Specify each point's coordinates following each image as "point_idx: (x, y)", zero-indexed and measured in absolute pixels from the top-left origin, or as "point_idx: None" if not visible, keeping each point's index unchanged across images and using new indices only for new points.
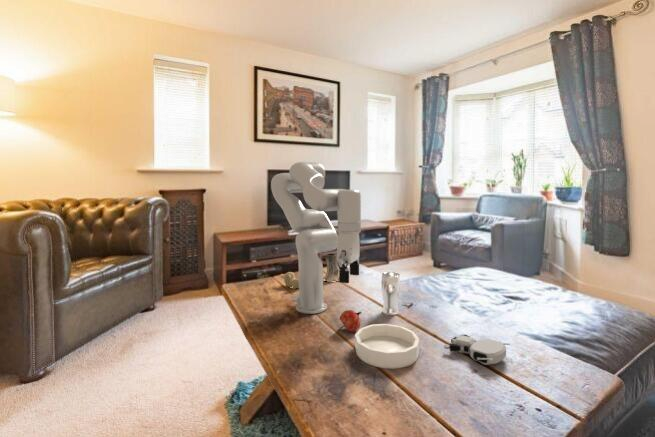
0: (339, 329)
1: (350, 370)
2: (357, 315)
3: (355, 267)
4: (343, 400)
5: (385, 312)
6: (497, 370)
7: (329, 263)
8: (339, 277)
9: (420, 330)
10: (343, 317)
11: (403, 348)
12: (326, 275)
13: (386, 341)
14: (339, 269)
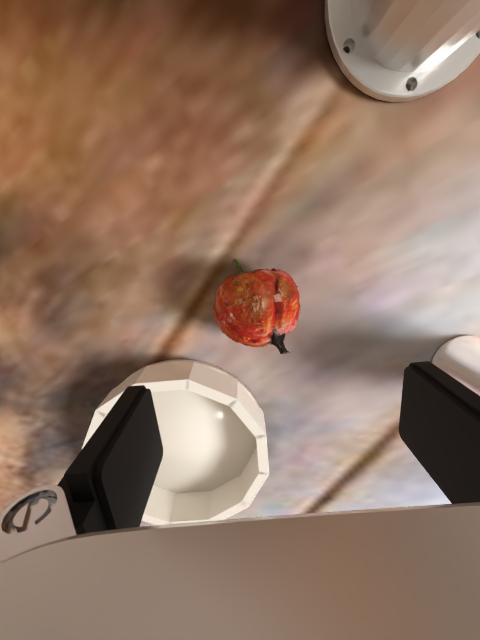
0: (237, 266)
1: (55, 391)
2: (266, 342)
3: (451, 474)
4: None
5: (439, 355)
6: None
7: None
8: (111, 412)
9: (345, 467)
10: (222, 301)
11: (205, 468)
12: None
13: (220, 425)
14: (8, 518)
